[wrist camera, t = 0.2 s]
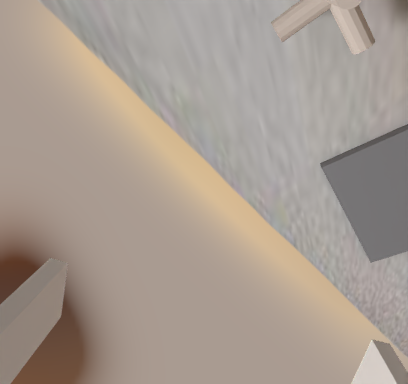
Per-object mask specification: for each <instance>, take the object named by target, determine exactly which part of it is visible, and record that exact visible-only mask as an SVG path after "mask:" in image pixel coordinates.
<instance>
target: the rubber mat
mask: <svg viewBox="0 0 408 384" xmlns="http://www.w3.org/2000/svg"><path fill="white" fill-rule="evenodd" d="M320 164H321V167H322V169H323V171H324V173H325V175H326V177H327V179H328V181H329V183H330V185H331V187H332V189H333V191H334V193H335V194H336V196H337V198H338V200H339V202H340V204H341V206H342V208H343V210H344V212H345V214H346V216H347V218H348V219H349V221H350V223H351V225H352V227H353V229H354V231H355V233H356V235H357V237H358V239H359V241H360V243H361V245H362V246H363V248H364V250H365V252H366V254H367V256H368V258H369V260H370V262H374V261H378V260H381V259H384V258H387V257H390V256H393V255H397V254H400V253H403V252H406V251H408V124H407V125H405V126H403V127H401V128H399V129H396V130H394V131H392V132H390V133H387V134H385V135H383V136H381V137H378V138H376V139H374V140H372V141H370V142H367V143H365V144H363V145H361V146H358V147H356V148H354V149H352V150H349V151H347V152H345V153H343V154H341V155H338V156H336V157H334V158H332V159H329V160H327V161H325V162H323V163H320Z"/></svg>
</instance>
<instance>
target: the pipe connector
mask: <svg viewBox="0 0 408 384" xmlns="http://www.w3.org/2000/svg"><path fill="white" fill-rule="evenodd" d="M361 1H362V0H300V1H299V2H297V3H296V4H295V5H293V6H292V7H291V8H289V9H288V10H287V11H285V12H284V13H283V14H281V15H280V16H279V17H277V18H276V19H275V20H273V21H272V22H271V24H272V26H273V27H274V29H275V31H276V33H277V34H278V36H279V38H280V39H281V41H282V42H283V41H285V40H286V39H287V38H289V37H290V36H292V35H293V34H295V33H296V32H297V31H299V30H300V29H302V28H303V27H304V26H306V25H307V24H309V23H310V22H311V21H313V20H314V19H316V18H317V17H318V16H320V15H321V14H323V13H324V12H326V11H327V10H328V9H330V10H331V12H332V14H333V16H334V18H335V20H336V22H337V24H338V26H339V28H340V30H341V32H342V34H343V36H344V38H345V40H346V42H347V44H348V46H349V48H350V50H351V52H352V54H358V53H361V52H363V51H365V50H366V49H368V48H369V47H371V46H372V45H373V44H374V43H375V39H374V37H373V35H372V33H371V31H370V28H369V26H368V24H367V22H366V20H365V18H364V16H363V14H362V11H361V9H360V7H359V4H360V3H361Z"/></svg>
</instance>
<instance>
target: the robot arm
mask: <svg viewBox="0 0 408 384" xmlns="http://www.w3.org/2000/svg"><path fill="white" fill-rule="evenodd" d="M67 267H68V263H66V262H63V261H59V260H55V259H51V258H50V259H49V260H48V261H47V262H46V263H45V264H44V265H43V266H42V267H41V268H40V269H39V270H37V271H36V272H35V273H34V274H33V275H32V276H31V277H30V278H29V279H28V280H26V281H25V282H24V283H23V284H22V285H21V286H20V287H19V288H18V289H17V290H16V291H15V292H13V294H11V295H10V296H9V297H8V298H7V299H6V300H5V301H4V302H3V303H2V304H1V305H0V384H11V382H12V381H13V379H14V378H15V377H16V376H17V374H18V373H19V372H20V370H21V369H22V367H23V366H24V365H25V364H26V362H27V361H28V360H29V358H30V357H31V356H32V354H33V353H34V352H35V350H36V349H37V348H38V346H39V345H40V344H41V342H42V341H43V340H44V338H45V337H46V336H47V334H48V333H49V331H50V330H51V329H52V328H53V326H54V325H55V324H56V322H57V321H58V320H59V318H60V317H61V312H62V304H63V296H64V289H65V282H66V274H67ZM351 384H408V372H407V371H406V369H405V367H404V366H403V364H402V363H401V361H400V360H399V358H398V356H397V355H396V353H395V351H394V350H393V348H392V347H391V345H390V344H388V343H384V342H380V341H376V340H371V343H370V345H369V347H368V349H367V351H366V353H365V355H364V358H363V360H362V362H361V364H360V366H359V368H358V371H357V373H356V375H355V377H354V379H353V381H352V383H351Z"/></svg>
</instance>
